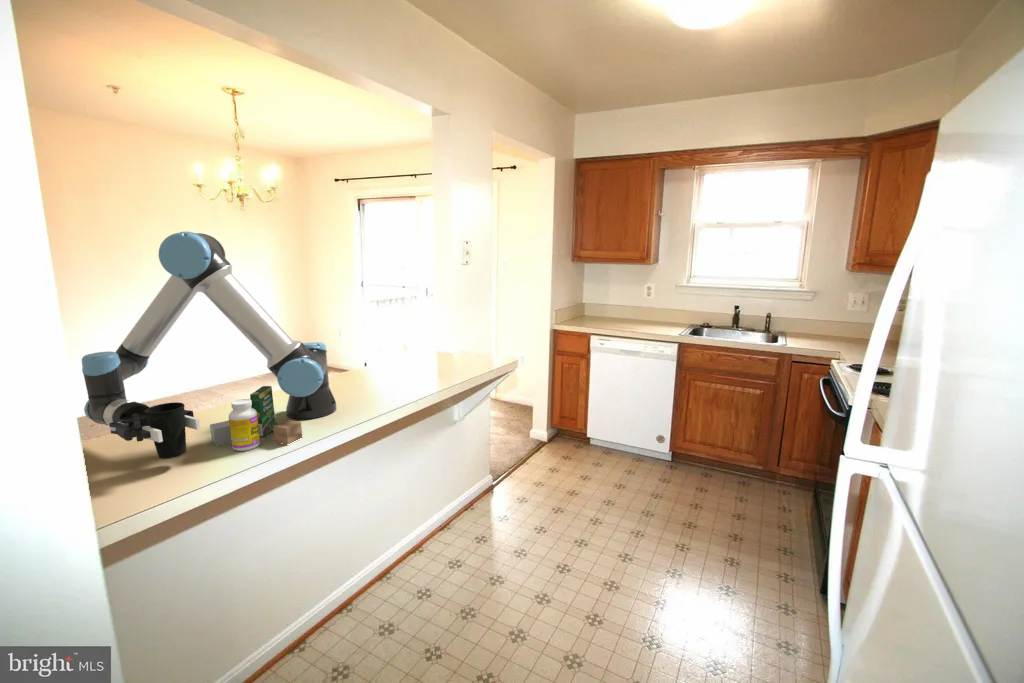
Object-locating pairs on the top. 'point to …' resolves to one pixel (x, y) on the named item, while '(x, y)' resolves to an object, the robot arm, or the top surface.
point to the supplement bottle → (244, 426)
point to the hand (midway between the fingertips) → (179, 430)
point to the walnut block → (287, 432)
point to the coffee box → (264, 409)
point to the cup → (168, 428)
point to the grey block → (220, 433)
